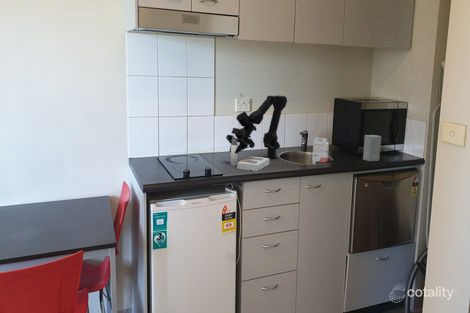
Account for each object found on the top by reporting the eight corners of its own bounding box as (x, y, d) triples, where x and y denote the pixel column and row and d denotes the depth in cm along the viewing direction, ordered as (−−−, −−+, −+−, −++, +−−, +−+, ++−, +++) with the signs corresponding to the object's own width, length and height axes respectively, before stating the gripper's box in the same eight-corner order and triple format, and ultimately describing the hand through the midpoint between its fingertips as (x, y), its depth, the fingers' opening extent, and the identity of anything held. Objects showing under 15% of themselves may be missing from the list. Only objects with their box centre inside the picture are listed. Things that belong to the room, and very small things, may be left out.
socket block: (250, 161, 255) (250, 155, 255) (269, 164, 251) (269, 157, 250) (236, 168, 238) (237, 161, 237) (257, 171, 233) (257, 164, 232)
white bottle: (231, 164, 248) (231, 138, 245) (237, 164, 248) (238, 139, 244) (230, 165, 244) (230, 139, 241) (236, 166, 244) (237, 140, 241)
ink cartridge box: (327, 161, 263) (329, 137, 260) (325, 162, 259) (327, 138, 256) (314, 159, 267) (316, 136, 264) (312, 160, 263) (313, 137, 260)
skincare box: (369, 161, 264) (371, 136, 261) (361, 159, 271) (363, 134, 267) (380, 161, 268) (382, 136, 264) (372, 158, 274) (374, 134, 271)
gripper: (228, 120, 250) (214, 141, 245) (252, 124, 237) (237, 146, 232) (237, 133, 257) (223, 153, 252) (260, 137, 244) (247, 158, 239)
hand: (232, 152), depth 243 cm, fingers closed on white bottle, 4 cm apart
